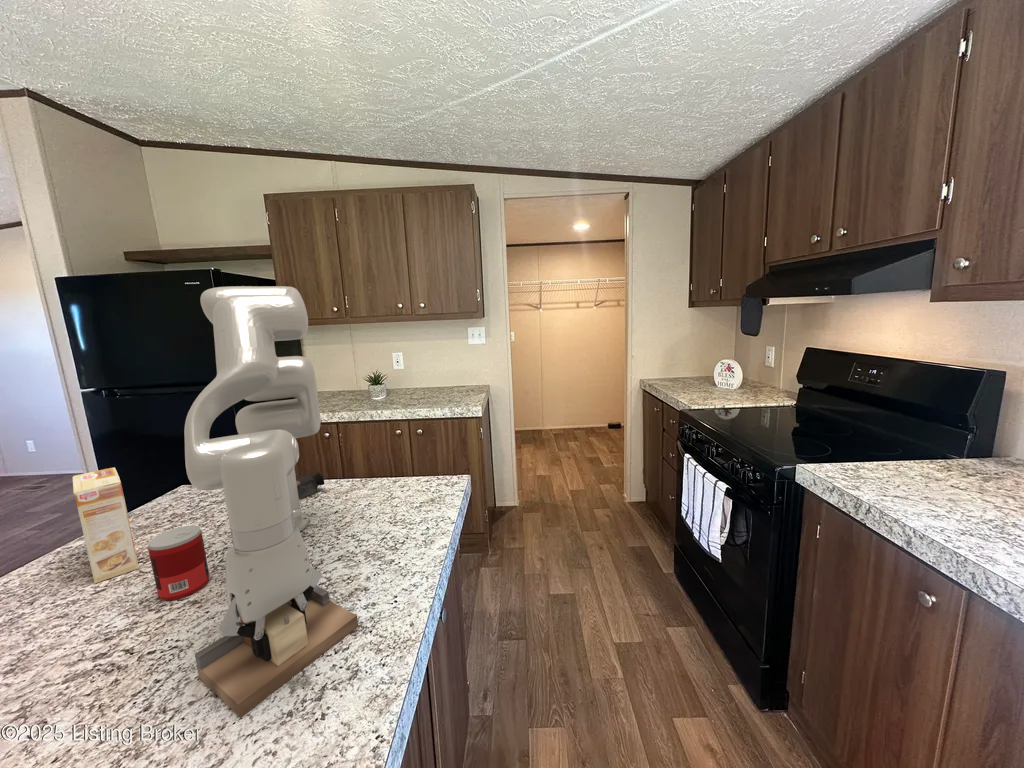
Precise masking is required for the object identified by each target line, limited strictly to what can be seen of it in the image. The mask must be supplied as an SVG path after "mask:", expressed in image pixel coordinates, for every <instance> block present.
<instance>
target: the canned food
mask: <svg viewBox="0 0 1024 768" xmlns="http://www.w3.org/2000/svg"><path fill="white" fill-rule="evenodd" d="M147 549H148V555H149V556H148V557H149V560H150V565H151V569H152V574H153V579H154V582H155V588H156V591H157V595H158V597H159V598H160V599H161V600H163V601H174V600H175V601H176V600H179V599H183V598H185V597H188V596H190V595H193V594H195V593H197V592H198V591H200V590H201V589H202V588H204V587H205V586H206V585H207V584H208V582H209V579H210V572H209V571H210V570H209V565H208V559H207V556H206V550H205V543H204V538H203V532H202V530H201V527H200V526H198V525H185V526H180V527H175V528H172V529H170V530H166V531H164V532H161V533H160V534H158V535H156V536H155V537H153V538H151V539H150V540H149V541H148V543H147Z"/></svg>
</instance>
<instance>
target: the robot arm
mask: <svg viewBox="0 0 1024 768" xmlns="http://www.w3.org/2000/svg"><path fill="white" fill-rule="evenodd" d="M200 306H201V308H202V312H203V314H204V315H205V317H206V318H207V319H208V320H209V322H210V323H211V325H212V327H213V337H214V351H215V364H216V366H215V367H216V376H215V377H214V378H213V380H212V381H211V382H210V383H208V384H207V386H205V387H204V389H203V390H202V391H201V392H200V393H199V394H198V396H197V397H196V398H195V400H194V401H193V402H192V405H191V406H190V409H189V410H188V412H187V415H186V417H185V418H186V419H185V422H184V431H183V432H184V460H185V469H186V475H187V479H188V480H189V482H190V483H191V485H192V486H193V487H194V488H196V489H197V490H199V491H206V492H207V491H214V490H217V491H218V490H221V489H222V490H223V494H224V500H225V505H226V512H227V518H228V524H229V529H230V534H231V541H232V547H230V548H228V549H227V551H226V557H225V558H226V559H225V590H226V591H225V593H226V600H227V601H226V602H227V607H228V608H227V610H226V613H225V614H224V617H223V619H222V621H221V623H220V625H219V627H218V631H217V632H218V633H220V634H221V635H222V637H224V636H236V635H240V636H242V637H248V638H250V639H251V645H252V651H253V654H254V655H255V656H256V657H257V658H258V657H261V658H262V659H264V660H265V661H266V662H268V661H269V660H271V651H270V645H269V639H268V635H267V634H265V633H264V624H265V615H266V614H268V613H269V612H271V611H273V610H274V609H276V608H278V607H279V606H281V605H283V604H284V603H286V602H288V601H290V603H291V607H293V608H294V609H296V610H298V611H299V612H301V613H302V614H304V618H305V625H306V624H307V621H306V614H305V609H306V608H307V606H308V603H307V602H308V600H309V598H310V596H311V594H312V592H313V590H314V587H315V586H316V585H317V586H318V584H319V582H320V581H321V579H322V577H323V573H321V572H320V571H319V570H317V569H315V568H314V567H312V566H311V561H310V557H309V554H308V549H307V547H306V543H305V541H304V538H303V535H302V533H301V532H302V531H304V529H306V528H307V527H308V525H309V523H310V520H309V515H307V514H306V513H303V512H301V510H302V509H301V503H300V499H299V496H298V489H297V482H296V480H297V477H296V476H297V475H296V470H295V466H296V464H297V463H298V462H299V458H300V451H299V450H300V449H299V443H298V440H297V439H299V438H305V437H309V436H310V437H311V436H314V435H316V434H317V433H318V432H319V431H320V428H321V422H322V421H321V413H320V412H321V411H320V410H321V409H320V404H319V403H320V402H319V395H318V394H319V393H318V385H317V378H316V373H315V369H314V366H313V364H312V362H311V361H310V359H308V358H307V357H305V356H301V355H291V356H289V355H288V356H277V354H276V353H277V352H276V346H275V342H279V341H294V340H295V341H296V340H302V339H304V338H305V337H306V335H307V333H308V330H309V329H308V328H309V316H308V311H307V309H306V308H307V307H306V304H305V302H304V299H303V298H302V295H301V293H300V292H299V291H298V289H297V288H295V287H293V286H285V285H283V286H280V285H279V286H278V285H275V286H273V285H272V286H270V285H269V286H267V285H266V286H265V285H264V286H263V285H262V286H259V285H258V286H257V285H255V286H252V285H250V286H249V285H248V286H247V285H246V286H245V285H241V286H239V285H237V286H233V285H232V286H231V285H230V286H218V287H212V288H211V287H210V288H208V289H206V290H204V291H202V293H201V295H200ZM289 398H292V399H289ZM281 399H284V400H281ZM244 400H245V401H248V402H259V403H253V404H249V405H246V406H244V407H243V408H241V409H240V410H239V411H238V412H237V413H236V416H235V419H234V420H235V427H236V431H237V434H234V435H233V434H232V435H227V436H221V437H215V438H210V431H211V428H212V425H213V423H214V421H215V420H216V418H218V417H219V416H220V415H221V414H222V413H223V412H225V411H226V410H228V409H229V408H230V407H232V406H233V405H235V404H237V403H239V402H240V401H244ZM262 401H265V402H262ZM240 616H241V617H242V620H243V622H244V623H242V622H241V621H239V622H238V619H240ZM237 622H238V623H237Z"/></svg>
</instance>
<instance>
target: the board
mask: <svg viewBox="0 0 1024 768" xmlns="http://www.w3.org/2000/svg"><path fill="white" fill-rule="evenodd" d="M329 593H330V592H329V591H328V590H326V589H324V588H322V587H320V585H319V586H318V584H317V585H316V586H315V587H314V590H313V592H312V594H311V596H310V598H309V600H308V602H307V603H308V606H307V608H306V609H305V614H306V621H307V624H306V632H307V638H308V645H307V646H305V647H304V648H302V649H301V650H300V651H298V652H297V653H296V654H294V655H293V656H291V657H290V658H289V659H287V660H286V661H285V662H283V663H282V664H280V665H279V666H277V665H276V664H275V663H273V662H272V661H271V660H269V661H268V662H266V661H265V660H264V659H262V658H261V657H258V658H257V657H256V656H255V655H254V654H253V651H252V648H251V647H249V646H248V645H247V644H246V643H244V637H242V636H240V635H236V636H222V637H220V638H219V639H217V640H215V641H214V642H212V643H211V644H209V645H207V646H205V647H204V648H202V649H201V650H199V651H198V652H196V653H194V657H195V660H196V670H197V673H198V674H197V675H198V678H199V679H200V680H201V681H202V682H203V683H204V684H205V686H207V687H208V688H209V689H210V690H211V691H212V692H213V693H214V694H215V695H217V697H218V698H220V699H221V700H222V702H223V703H224V704H225V705H227V706H228V707H229V708H230V709H231V710H232V711H233V712H234V713H235V714H236V715H237V716H238V717H239V718H242V717H244V716H245V715H246V714H247V713H249V712H250V711H251V710H253V708H255V707H256V706H258V705H259V704H260V703H262V702H263V701H264V700H265V699H267V698H268V697H270V696H271V695H272V694H273V693H274V692H275V691H277V690H278V689H280V688H281V687H282V686H284V684H286V683H288V681H290V680H292V678H294V677H295V676H297V675H298V674H299V673H300V672H301V671H303V670H304V669H305V668H307V667H308V666H309V665H310V664H312V663H313V662H314V661H315V660H317V659H318V658H319V657H321V656H322V655H323V654H325V653H326V652H327V651H329V650H330V649H332V647H334V646H335V645H336V644H338V643H339V642H340V641H341V640H343V639H344V638H346V636H348V635H349V634H351V633H352V632H353V631H354V630H356V629H357V628H358V627H359V619H358V614H355V613H354V612H352V611H350V610H348V609H347V608H345V607H342V606H340V605H339V604H336V603H335V602H334V601H331V600H330V594H329ZM286 604H288V605H289V606H291V603H290V601H288V602H286Z"/></svg>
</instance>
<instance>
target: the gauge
mask: <svg viewBox="0 0 1024 768" xmlns="http://www.w3.org/2000/svg"><path fill="white" fill-rule="evenodd" d="M239 620H240V622H242V623H244V622H243V620H242V617H241V616H240V615H239ZM264 633H265V634H267V635H268V639H269V645H270V651H271V661H272V662H273V663H275V664H276V665H277V666H279V665H280V664H282V663H283V662H285V661H286V660H287V659H289V658H290V657H291V656H293V655H294V654H296V653H297V652H298V651H300V650H301V649H302V648H304V647H305V646H307V645H308V638H307V632H306V625H305V618H304V614H302V613H301V612H299V611H298V610H296V609H294V608H293V607H291V606H289V605H288V604H286V603H284V604H283V605H281V606H279V607H278V608H276V609H274V610H273V611H271V612H269V613H268V614H266V615H265V624H264ZM244 643H246V644H247V645H248V646H249V647H251V648H252V645H251V639H250V638H248V637H244Z"/></svg>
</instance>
